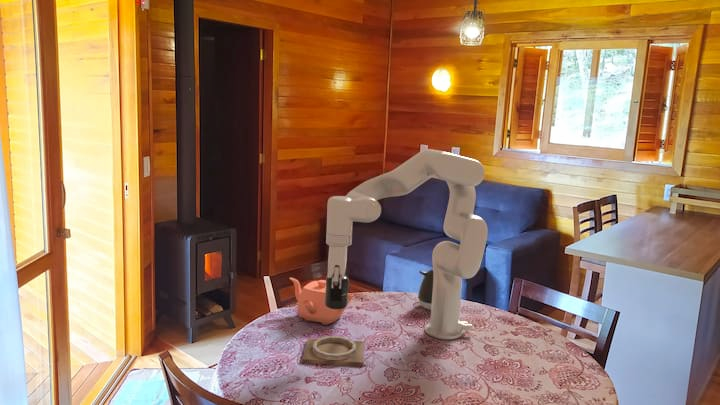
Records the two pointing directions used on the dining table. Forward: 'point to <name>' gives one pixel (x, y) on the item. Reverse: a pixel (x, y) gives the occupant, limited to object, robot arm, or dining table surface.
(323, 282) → the teapot
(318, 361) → the ring board
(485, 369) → the dining table surface
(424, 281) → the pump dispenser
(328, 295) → the supplement bottle
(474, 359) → the dining table surface
